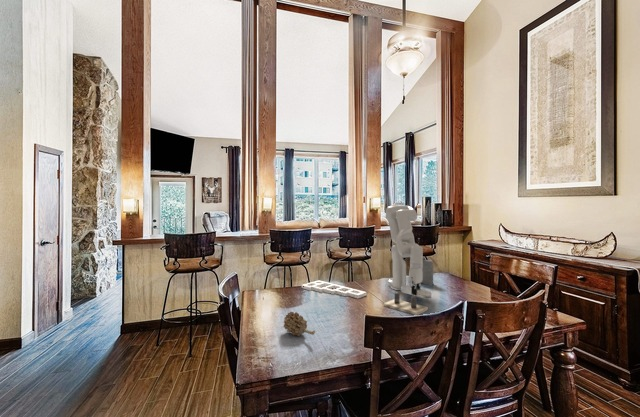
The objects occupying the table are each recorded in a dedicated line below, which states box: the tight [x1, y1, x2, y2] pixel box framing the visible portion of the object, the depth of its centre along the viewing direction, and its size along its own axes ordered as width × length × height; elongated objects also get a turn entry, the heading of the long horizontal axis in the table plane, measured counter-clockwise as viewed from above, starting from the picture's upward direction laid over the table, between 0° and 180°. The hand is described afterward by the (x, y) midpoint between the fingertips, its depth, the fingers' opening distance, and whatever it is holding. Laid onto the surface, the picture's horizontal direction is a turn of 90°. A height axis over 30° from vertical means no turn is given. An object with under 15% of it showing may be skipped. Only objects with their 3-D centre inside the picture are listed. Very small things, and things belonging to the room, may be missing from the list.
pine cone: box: [283, 311, 316, 337], centre depth 143 cm, size 22×10×10 cm, turn 47°
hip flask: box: [421, 256, 434, 286], centre depth 233 cm, size 16×4×20 cm, turn 43°
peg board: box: [383, 292, 429, 316], centre depth 179 cm, size 22×12×8 cm, turn 44°
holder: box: [301, 280, 367, 299], centre depth 213 cm, size 45×18×3 cm, turn 46°
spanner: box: [400, 284, 432, 300], centre depth 194 cm, size 20×4×4 cm, turn 44°
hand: (415, 293), depth 194 cm, fingers closed on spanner, 4 cm apart
